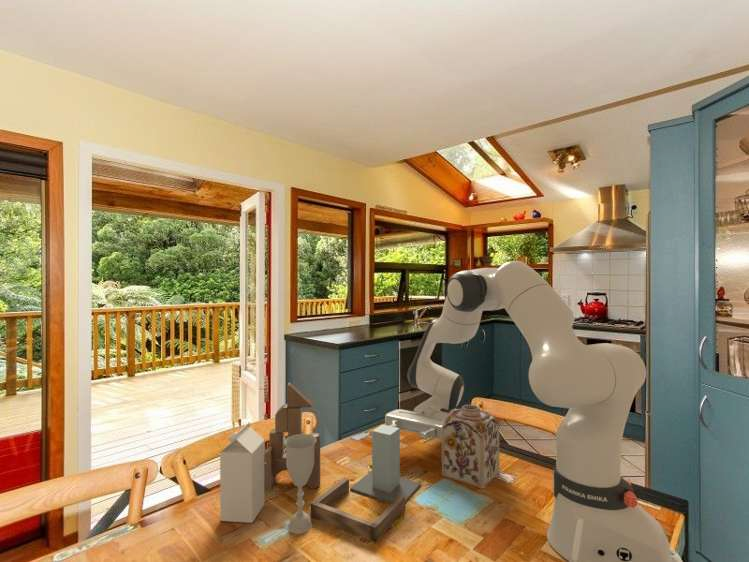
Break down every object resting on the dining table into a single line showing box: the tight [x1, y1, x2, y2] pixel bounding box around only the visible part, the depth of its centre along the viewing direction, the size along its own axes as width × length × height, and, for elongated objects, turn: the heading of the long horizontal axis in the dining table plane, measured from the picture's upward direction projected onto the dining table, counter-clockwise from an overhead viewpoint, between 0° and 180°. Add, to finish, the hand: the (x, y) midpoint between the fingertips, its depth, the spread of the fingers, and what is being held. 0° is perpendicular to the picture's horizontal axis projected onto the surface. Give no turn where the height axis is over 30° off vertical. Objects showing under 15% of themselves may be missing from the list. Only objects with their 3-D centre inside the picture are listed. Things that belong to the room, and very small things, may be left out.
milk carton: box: [219, 421, 265, 524], centre depth 88 cm, size 7×7×19 cm
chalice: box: [284, 433, 317, 535], centre depth 84 cm, size 7×7×18 cm
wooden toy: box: [264, 382, 321, 491], centre depth 101 cm, size 16×7×25 cm, turn 94°
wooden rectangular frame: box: [310, 477, 406, 544], centre depth 88 cm, size 16×13×3 cm
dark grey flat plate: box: [349, 470, 422, 505], centre depth 99 cm, size 14×11×1 cm
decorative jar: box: [441, 404, 500, 490], centre depth 106 cm, size 12×12×18 cm
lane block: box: [371, 424, 401, 493], centre depth 99 cm, size 5×5×14 cm
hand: (407, 432), depth 109 cm, fingers open, 8 cm apart
